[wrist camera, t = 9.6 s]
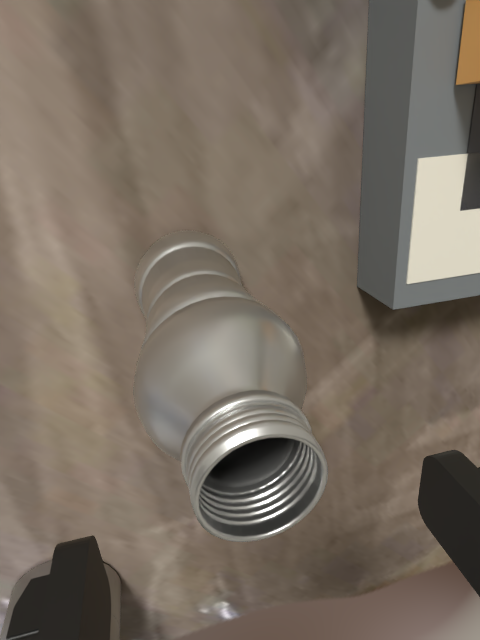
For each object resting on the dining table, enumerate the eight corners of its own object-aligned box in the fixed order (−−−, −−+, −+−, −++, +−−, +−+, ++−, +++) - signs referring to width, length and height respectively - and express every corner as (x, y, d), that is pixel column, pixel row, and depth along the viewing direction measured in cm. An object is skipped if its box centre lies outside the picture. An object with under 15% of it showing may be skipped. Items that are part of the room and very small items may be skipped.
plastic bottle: (249, 270, 30) (422, 467, 12) (180, 334, 30) (246, 610, 13) (186, 201, 27) (287, 322, 9) (112, 273, 28) (70, 517, 10)
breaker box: (471, 268, 34) (531, 291, 29) (357, 286, 32) (399, 314, 27) (519, -44, 26) (616, -90, 21) (370, -43, 24) (436, -93, 19)
